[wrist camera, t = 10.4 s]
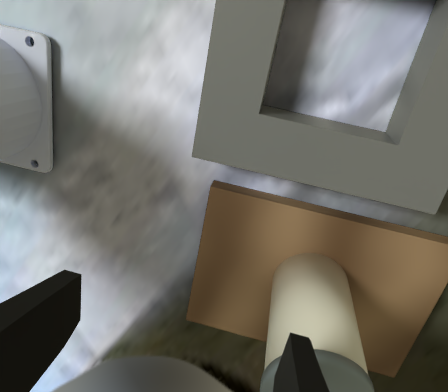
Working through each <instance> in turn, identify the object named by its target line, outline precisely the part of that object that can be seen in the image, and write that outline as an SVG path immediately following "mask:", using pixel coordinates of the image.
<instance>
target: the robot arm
mask: <svg viewBox="0 0 448 392" xmlns="http://www.w3.org/2000/svg"><path fill="white" fill-rule="evenodd" d="M31 37H32V38H33V40H34V45H33V46H32V45H31V43H30V38H31ZM35 160H36V161H37V162H38V164H39V165H37V164H36V163H35ZM0 162H2V163H6V164H9V165H13V166H17V167H21V168H25V169H29V170H33V171H37V172H41V173H47V172H49V171H51V170H52V169H53V129H52V70H51V42H50V40H49V38H48V37H47V36H46V35H45V34H42V33H38V32H33V31H29V30H24V29H19V28H15V27H10V26H6V25H1V24H0ZM80 313H81V274H78V273H74V272H71V271H67V270H63V271H61V272H59V273H57V274H56V275H54V276H52V277H50V278H48V279H46V280H44V281H42V282H40V283H39V284H37V285H35V286H33V287H31V288H29V289H27V290H25V291H23V292H21V293H20V294H18V295H16V296H14V297H12V298H10V299H8V300H6V301H4V302H2V303H0V392H29V391H30V390H31V389H32V388H33V386H34V385H35V384H36V383H37V381H38V380H39V379H40V377H41V376H42V375H43V374H44V372H45V371H46V370H47V368H48V367H49V366H50V365H51V363H52V362H53V361H54V359H55V358H56V357H57V355H58V354H59V353H60V352H61V350H62V349H63V348H64V346H65V344H66V343H67V341H68V340H69V338H70V336H71V335H72V333H73V331H74V330H75V328H76V326H77V325H78V323H79V321H80ZM273 392H330V391H329V389H328V386H327V384H326V381H325V379H324V376H323V374H322V371H321V368H320V366H319V363H318V360H317V357H316V355H315V352H314V349H313V346H312V342H311V340H310V339H309V337H305V336H301V335H298V334H294V333H291V332H290V334H289V337H288V340H287V342H286V345H285V348H284V351H283V354H282V357H281V359H280V362H279V365H278V368H277V371H276V373H275V377H274V385H273Z"/></svg>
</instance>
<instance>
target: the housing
mask: <svg viewBox="0 0 448 392" xmlns="http://www.w3.org/2000/svg"><path fill="white" fill-rule="evenodd" d="M286 2H287V0H216V4H215V11H214V17H213V24H212V30H211V37H210V43H209V49H208V56H207V62H206V69H205V75H204V81H203V88H202V94H201V101H200V107H199V114H198V120H197V126H196V133H195V139H194V146H193V152H192V157H195V158H199V159H203V160H207V161H212V162H216V163H220V164H224V165H228V166H233V167H237V168H241V169H245V170H249V171H254V172H258V173H262V174H266V175H270V176H274V177H279V178H283V179H287V180H291V181H295V182H300V183H304V184H308V185H312V186H316V187H321V188H325V189H329V190H333V191H337V192H342V193H346V194H350V195H354V196H358V197H363V198H367V199H371V200H375V201H379V202H383V203H388V204H392V205H396V206H400V207H404V208H409V209H413V210H417V211H421V212H425V213H430V214H434V215H435V214H436V212H437V210H438V208H439V206H440V204H441V202H442V200H443V198H444V196H445V194H446V192H447V190H448V0H436V2H435V5H434V7H433V10H432V13H431V15H430V18H429V20H428V23H427V26H426V28H425V31H424V33H423V36H422V39H421V41H420V44H419V46H418V49H417V52H416V54H415V57H414V59H413V62H412V65H411V67H410V70H409V72H408V75H407V78H406V80H405V83H404V85H403V88H402V91H401V93H400V96H399V98H398V101H397V104H396V106H395V109H394V111H393V114H392V117H391V119H390V122H389V124H388V127H387V130H386V132H381V131H377V130H372V129H368V128H363V127H359V126H354V125H350V124H345V123H341V122H336V121H332V120H327V119H323V118H318V117H314V116H309V115H305V114H300V113H296V112H291V111H287V110H282V109H278V108H273V107H269V106H264V105H263V103H264V98H265V94H266V89H267V85H268V81H269V76H270V72H271V68H272V63H273V59H274V55H275V50H276V46H277V41H278V37H279V33H280V28H281V24H282V20H283V15H284V11H285V7H286Z"/></svg>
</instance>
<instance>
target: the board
mask: <svg viewBox="0 0 448 392" xmlns="http://www.w3.org/2000/svg"><path fill="white" fill-rule="evenodd" d="M302 253H316V254H321V255H324V256H327V257H329V258H331V259H333V260H334V261H335V262H337V263H338V264H339V265H340V266H341V267H342V268H343V270H344V271H345V273H346V276H347V279H348V283H349V288H350V293H351V297H352V302H353V306H354V311H355V316H356V320H357V325H358V330H359V334H360V339H361V343H362V348H363V353H364V357H365V362H366V367H367V370H369V371H372V372H376V373H379V374H383V375H387V376H390V377H395V376H396V374H397V372H398V370H399V369H400V367H401V365H402V363H403V361H404V360H405V358H406V356H407V354H408V352H409V351H410V349H411V347H412V345H413V344H414V342H415V340H416V338H417V336H418V335H419V333H420V331H421V329H422V328H423V326H424V324H425V322H426V320H427V319H428V317H429V315H430V313H431V312H432V310H433V308H434V306H435V304H436V303H437V301H438V299H439V297H440V295H441V294H442V292H443V290H444V288H445V287H446V285H447V283H448V237H446V236H442V235H438V234H434V233H430V232H425V231H421V230H417V229H413V228H409V227H405V226H401V225H397V224H392V223H388V222H384V221H380V220H376V219H372V218H368V217H364V216H359V215H355V214H351V213H347V212H343V211H339V210H335V209H331V208H327V207H322V206H318V205H314V204H310V203H306V202H302V201H298V200H294V199H289V198H285V197H281V196H277V195H273V194H269V193H265V192H261V191H257V190H252V189H248V188H244V187H240V186H236V185H232V184H228V183H224V182H219V181H215V180H214V181H213V183H212V185H211V187H210V192H209V197H208V203H207V208H206V214H205V219H204V224H203V230H202V235H201V241H200V246H199V251H198V257H197V262H196V267H195V273H194V278H193V284H192V289H191V294H190V300H189V305H188V310H187V316H186V320H189V321H192V322H196V323H199V324H203V325H207V326H210V327H214V328H217V329H221V330H225V331H228V332H232V333H235V334H239V335H243V336H246V337H250V338H253V339H257V340H261V341H264V342H267V335H268V324H269V314H270V303H271V292H272V282H273V275H274V273H275V271H276V269H277V267H278V266H279V265H280V264H281V263H282V262H283V261H284V260H286V259H287V258H289V257H291V256H294V255H297V254H302Z"/></svg>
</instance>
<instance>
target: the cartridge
mask: <svg viewBox="0 0 448 392" xmlns="http://www.w3.org/2000/svg"><path fill="white" fill-rule="evenodd" d="M290 332H291V333H294V334H298V335H301V336H305V337H309V339H310V340H311V342H312V346H313V349H314V352H315V355H316V357H317V360H318V363H319V366H320V368H321V371H322V374H323V376H324V379H325V381H326V384H327V386H328V389H329V391H330V392H375V391H374V387H373V383H372V381H371V379H370V377H369V376H368V371H367V367H366V362H365V357H364V353H363V348H362V343H361V339H360V334H359V330H358V325H357V320H356V316H355V311H354V306H353V302H352V297H351V293H350V288H349V283H348V279H347V276H346V273H345V271H344V270H343V268H342V267H341V266H340V265H339V264H338V263H337V262H335V261H334V260H333V259H331V258H329V257H327V256H324V255H321V254H316V253H302V254H297V255H294V256H291V257H289V258H287V259H286V260H284V261H283V262H282V263H281V264H280V265H279V266H278V267H277V269H276V271H275V273H274V275H273V282H272V292H271V303H270V314H269V324H268V335H267V346H266V357H265V367H264V372H263V374H262V378H261V385H260V392H273V385H274V377H275V373H276V371H277V368H278V365H279V362H280V359H281V357H282V354H283V351H284V348H285V345H286V342H287V340H288V337H289V334H290Z"/></svg>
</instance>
